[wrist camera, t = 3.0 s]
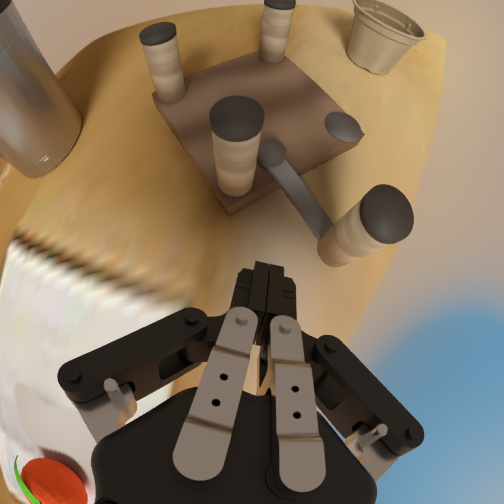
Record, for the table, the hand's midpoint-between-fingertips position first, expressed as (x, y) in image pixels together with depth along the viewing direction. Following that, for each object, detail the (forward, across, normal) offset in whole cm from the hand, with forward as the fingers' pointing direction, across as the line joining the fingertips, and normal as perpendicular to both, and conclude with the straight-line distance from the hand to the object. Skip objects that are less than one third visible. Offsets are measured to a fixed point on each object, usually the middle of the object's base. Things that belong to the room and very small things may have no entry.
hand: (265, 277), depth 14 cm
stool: (+14, +3, -6) cm, 16 cm away
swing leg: (+7, -2, -2) cm, 7 cm away
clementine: (-12, +14, +21) cm, 28 cm away
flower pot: (+26, -9, -18) cm, 33 cm away
